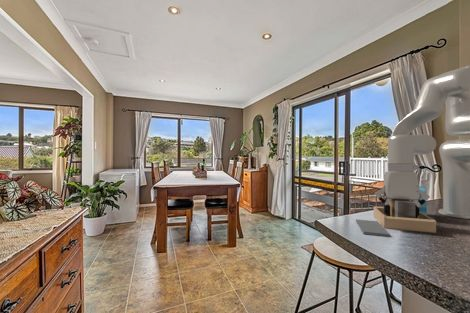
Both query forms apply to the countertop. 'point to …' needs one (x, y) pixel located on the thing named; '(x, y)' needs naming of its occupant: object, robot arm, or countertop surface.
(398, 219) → the carton
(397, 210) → the walnut box
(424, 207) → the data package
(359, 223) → the mat
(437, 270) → the countertop surface
